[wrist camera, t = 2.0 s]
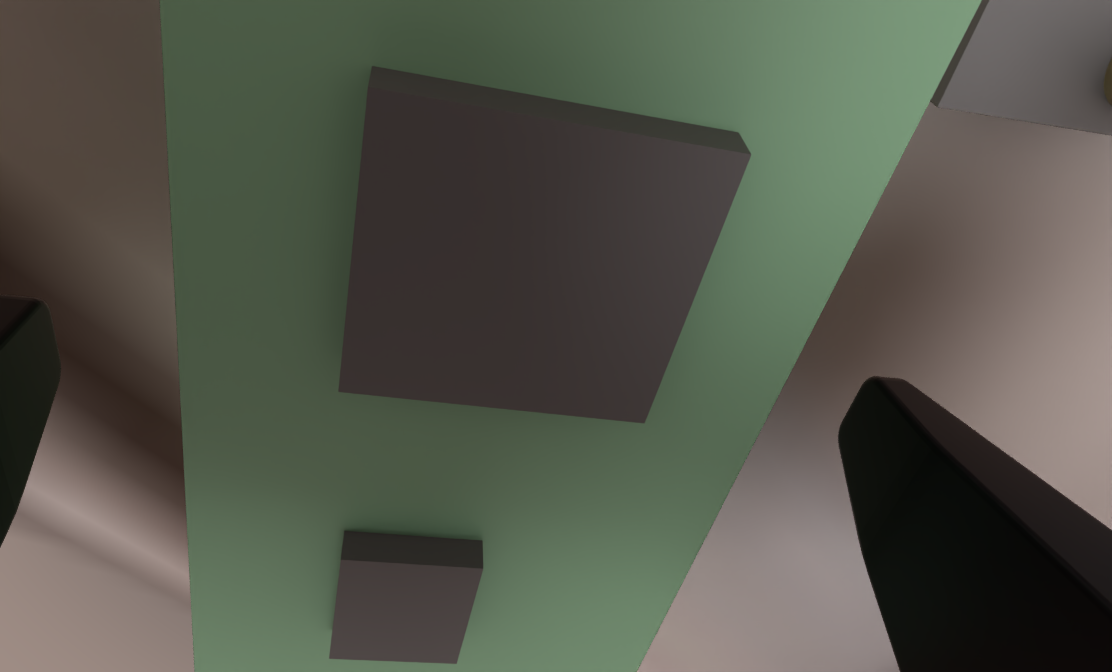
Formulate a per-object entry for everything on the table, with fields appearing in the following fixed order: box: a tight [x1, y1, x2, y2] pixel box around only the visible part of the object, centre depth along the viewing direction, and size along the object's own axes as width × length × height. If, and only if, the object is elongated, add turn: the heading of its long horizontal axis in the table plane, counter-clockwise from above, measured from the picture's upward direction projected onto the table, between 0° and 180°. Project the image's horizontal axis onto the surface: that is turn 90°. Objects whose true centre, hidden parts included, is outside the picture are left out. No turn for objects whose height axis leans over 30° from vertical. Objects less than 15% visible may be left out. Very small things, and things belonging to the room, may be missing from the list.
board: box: [160, 0, 982, 672], centre depth 10 cm, size 12×6×4 cm, turn 167°
